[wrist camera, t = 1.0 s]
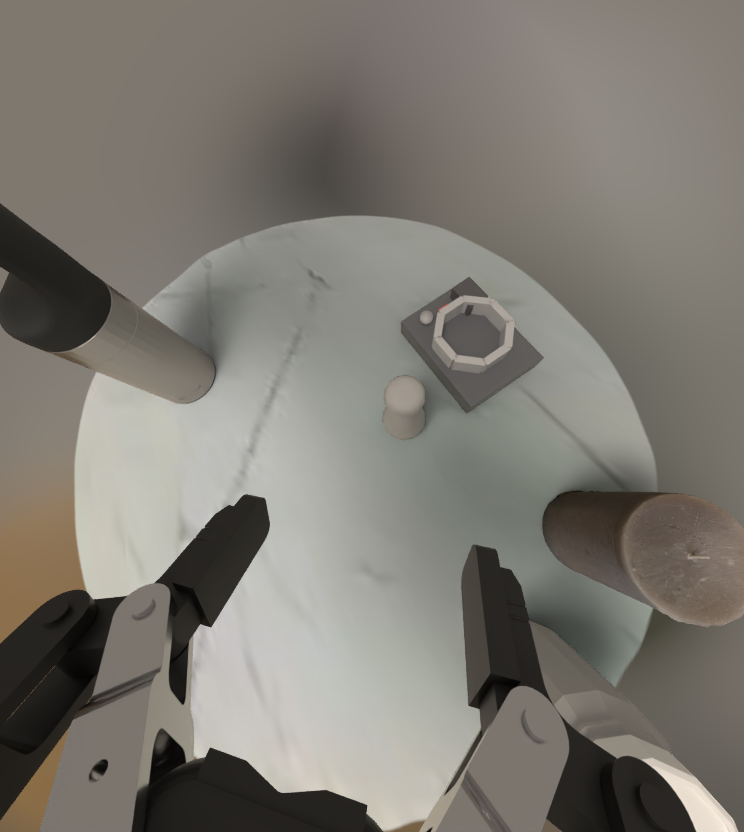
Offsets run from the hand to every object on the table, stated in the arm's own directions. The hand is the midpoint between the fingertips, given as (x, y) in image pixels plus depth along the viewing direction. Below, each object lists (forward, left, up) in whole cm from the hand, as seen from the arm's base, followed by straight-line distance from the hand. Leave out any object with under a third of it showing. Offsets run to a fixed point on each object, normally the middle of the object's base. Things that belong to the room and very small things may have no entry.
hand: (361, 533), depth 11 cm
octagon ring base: (-12, +22, -29) cm, 38 cm away
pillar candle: (+16, +18, -29) cm, 37 cm away
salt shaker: (-8, +8, -29) cm, 31 cm away
